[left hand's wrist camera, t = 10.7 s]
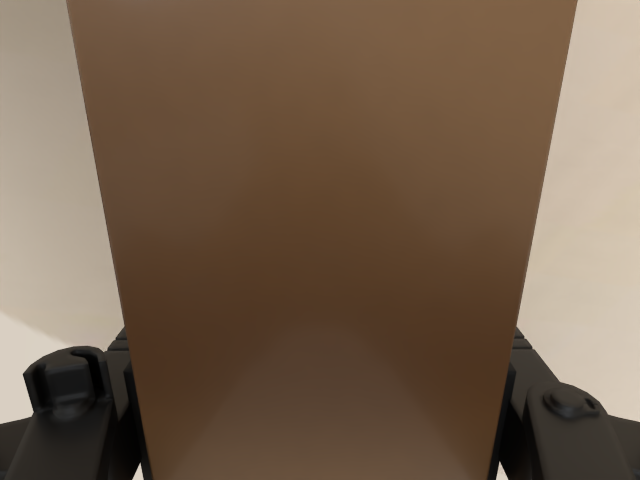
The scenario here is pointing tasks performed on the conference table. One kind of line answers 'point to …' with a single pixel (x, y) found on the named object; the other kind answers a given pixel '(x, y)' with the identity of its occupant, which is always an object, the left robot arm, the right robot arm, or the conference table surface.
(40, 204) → the conference table surface
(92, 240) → the conference table surface
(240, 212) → the bar
